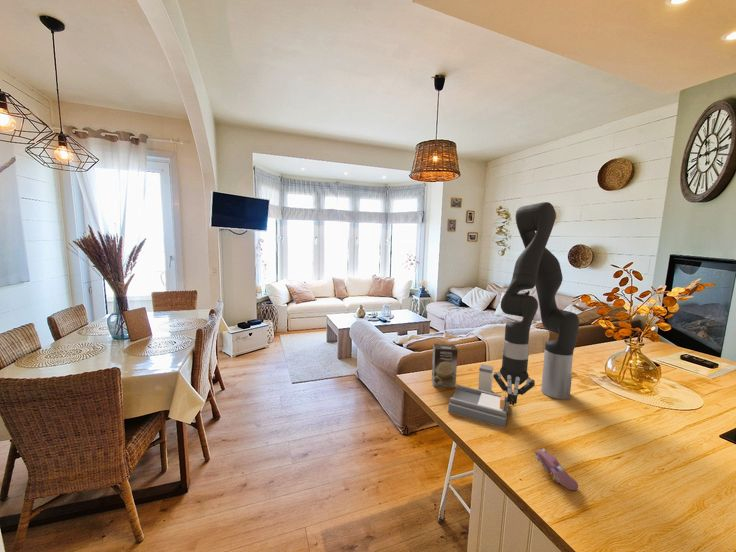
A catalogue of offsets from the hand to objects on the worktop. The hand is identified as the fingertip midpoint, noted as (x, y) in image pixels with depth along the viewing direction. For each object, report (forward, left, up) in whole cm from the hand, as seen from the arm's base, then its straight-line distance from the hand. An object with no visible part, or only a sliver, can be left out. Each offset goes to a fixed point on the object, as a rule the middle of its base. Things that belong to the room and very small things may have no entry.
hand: (511, 403), depth 100 cm
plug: (+10, -14, -5) cm, 18 cm away
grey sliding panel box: (+10, 0, -5) cm, 11 cm away
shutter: (+6, 0, -2) cm, 7 cm away
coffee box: (+26, -12, -5) cm, 29 cm away
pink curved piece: (-12, +22, -5) cm, 25 cm away
